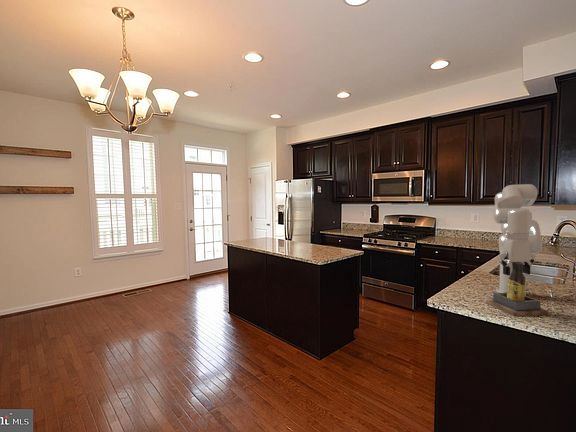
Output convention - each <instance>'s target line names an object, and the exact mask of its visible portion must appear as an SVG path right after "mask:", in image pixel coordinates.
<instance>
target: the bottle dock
mask: <svg viewBox="0 0 576 432" xmlns="http://www.w3.org/2000/svg"><path fill="white" fill-rule="evenodd" d="M492 296H493V298H492V300H491V299H490V300H488V299H487V300H486V305H489V306H491V307H493V308H495V309H498V310H500V311H502V312H504V313H506V314H508V315H510V316H512V317H520V316H521V317H522V316H523V317H524V316H538V315H539V316H540V315H548V314H549V310H547V309H544V308H543V307H542V308H541V300H539V299H536V298H534V297H530V296H528V295H526V296H525V297H524V301H515V300H512V299H510V298H507V292H503V293H497V292H493V293H492Z"/></svg>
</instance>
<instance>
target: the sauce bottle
mask: <svg viewBox="0 0 576 432" xmlns="http://www.w3.org/2000/svg"><path fill="white" fill-rule="evenodd" d="M523 266H524V263H521V262H512V272H511V274H510V276H509V278H508V288H507V298H510V299H512V300H515V301H524V297H525V293H526V290H525V286H526V276H525V275H524V273H523Z"/></svg>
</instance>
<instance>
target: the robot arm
mask: <svg viewBox="0 0 576 432" xmlns="http://www.w3.org/2000/svg"><path fill="white" fill-rule="evenodd" d="M537 197H538V188H537V187H536V186H535V185H533V184H531V183H528V184H527V183H526V184H525V183H524V184H523V183H522V184H510V185H509V184H508V185H506V186H505V187H503V189H502V190H501V192H498V193H496V194H495V196H494V206H493V209H492V211H493V213H492V214H493V220H494V222H495V223H496V224H499V225H500V230H501V233H502V235H500V236H499V237H498V239H497V240H498V248H499V255H498V257H497V258H498V261H499V285H498V286H499V287H497V288H496V289H495V293H503V292H507V288H508V278H509V276H510V274H511V272H512V262H521V263H523V264H524V266H523V274H526V275H527V276H528V275H531V266H533V263H534V262H535V260H536V258H537V256H536V255H535V254H539V253H541V251H542V250H543V241H542V233H541V229H540V224H539V222H537V220H535V219H533V213H532V212H531V211H530V209H528V208H522V207H530V206H532V205H533V204H534V203H535V201H536V200H537ZM531 289H532V288H531V286H526V285H525V291H530V290H531ZM525 296H527V293H526V292H525Z"/></svg>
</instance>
